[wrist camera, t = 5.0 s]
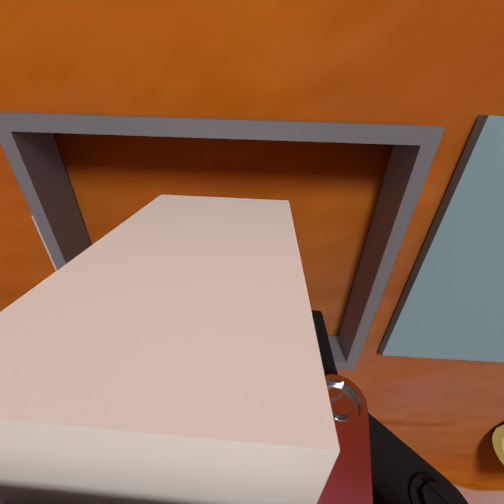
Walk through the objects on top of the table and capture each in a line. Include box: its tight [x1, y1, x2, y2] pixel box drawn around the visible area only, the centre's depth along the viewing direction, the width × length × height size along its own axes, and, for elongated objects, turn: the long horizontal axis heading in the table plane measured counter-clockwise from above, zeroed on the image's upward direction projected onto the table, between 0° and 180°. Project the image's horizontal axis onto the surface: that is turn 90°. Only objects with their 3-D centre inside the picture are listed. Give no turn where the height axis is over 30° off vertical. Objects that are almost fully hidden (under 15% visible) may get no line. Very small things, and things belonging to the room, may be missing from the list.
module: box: [0, 195, 340, 504], centre depth 8 cm, size 5×8×8 cm, turn 178°
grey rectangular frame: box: [0, 112, 445, 370], centre depth 13 cm, size 17×13×2 cm
